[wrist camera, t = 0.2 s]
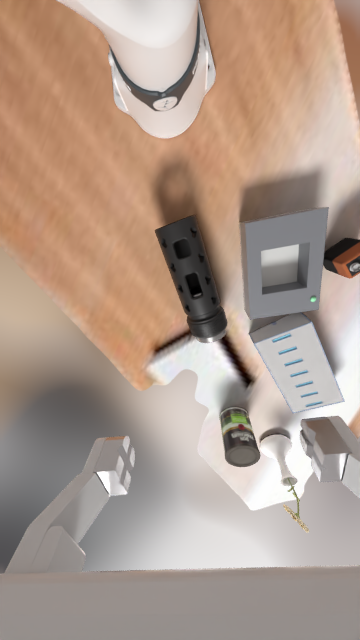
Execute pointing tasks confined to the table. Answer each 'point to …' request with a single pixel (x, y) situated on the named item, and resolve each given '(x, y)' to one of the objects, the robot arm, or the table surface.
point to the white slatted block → (297, 362)
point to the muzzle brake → (193, 278)
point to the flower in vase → (282, 466)
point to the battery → (344, 258)
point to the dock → (283, 262)
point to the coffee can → (238, 437)
